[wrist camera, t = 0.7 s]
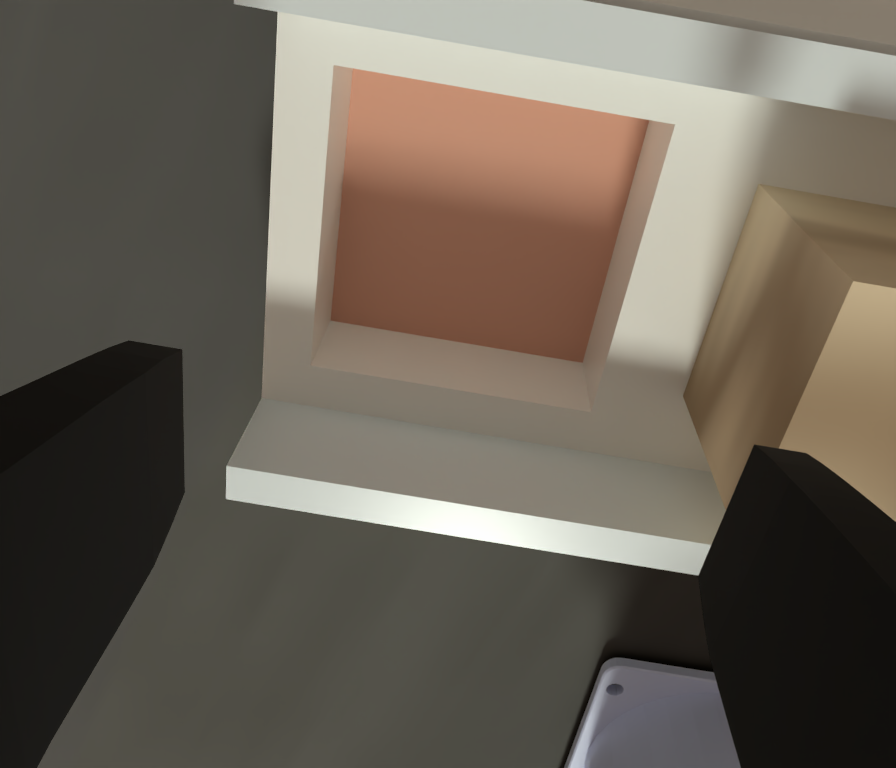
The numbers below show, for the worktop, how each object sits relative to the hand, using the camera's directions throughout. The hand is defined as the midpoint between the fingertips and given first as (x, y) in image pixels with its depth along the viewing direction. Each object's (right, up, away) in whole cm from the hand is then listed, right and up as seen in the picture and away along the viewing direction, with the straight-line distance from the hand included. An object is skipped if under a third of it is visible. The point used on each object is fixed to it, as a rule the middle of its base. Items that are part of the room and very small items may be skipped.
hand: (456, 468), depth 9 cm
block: (+7, +2, +6) cm, 10 cm away
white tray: (+7, +4, +8) cm, 12 cm away
